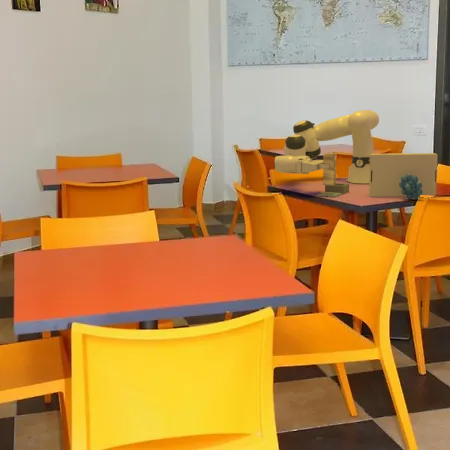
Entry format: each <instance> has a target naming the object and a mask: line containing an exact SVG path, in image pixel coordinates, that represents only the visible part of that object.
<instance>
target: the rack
mask: <svg viewBox="0 0 450 450" xmlns="http://www.w3.org/2000/svg"><path fill="white" fill-rule="evenodd" d="M324 192H332V193H342V195H345V194H347V192H348V193H350V183H337V182H336V184H335V185H324ZM344 193H345V194H344Z"/></svg>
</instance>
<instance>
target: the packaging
mask: <svg viewBox="0 0 450 450" xmlns="http://www.w3.org/2000/svg"><path fill="white" fill-rule="evenodd" d="M438 156H439V155H438V154H437V153H434V152H427V153H426V152H425V153H424V152H423V153H422V152H420V153H419V152H418V153H417V152H415V153H414V152H412V153H411V152H408V153H405V152H404V153H398V152H397V153H373V154H370V169H369V183H368V196H369V197H370V198H407V195H403V194H402V192H401V190H402V188H400V186H399V183H400V182H402V181H401V177H402V176H405V177H406V174H408V173H409V174H411V175H412V176H417V177H418V181H419V182H421V183H422V187H421V188H420V189H422V191H423V193H422V195H434V196H436V197H437V182H438V181H437V178H438ZM418 181H417V182H418ZM419 196H420V195H419Z"/></svg>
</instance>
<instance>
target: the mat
mask: <svg viewBox="0 0 450 450" xmlns="http://www.w3.org/2000/svg"><path fill="white" fill-rule="evenodd" d="M341 194H342V193H332V192H325V191H324V192H321V193H318V194H317V197H321V196H328V197H327V198H337V197H340V196H342V195H343V194H342V195H341ZM339 195H340V196H339Z"/></svg>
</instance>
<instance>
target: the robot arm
mask: <svg viewBox="0 0 450 450" xmlns="http://www.w3.org/2000/svg"><path fill="white" fill-rule="evenodd" d="M379 121H380V117H379V115H378V113H377V112H375V111H373V110H370V109H364V110H363V109H362V110H356V111H354V112H353V113H350V114H347V115H342V116H339V117H334V118H331V119H328V120H325V121H322V122H320V123H318V124H317V125H316V124H315V122H311V121H310V120H300V121H297V122H296V123H295V124H294V125H293V127H292V128H293V133H294V134H292V135H289V136H287V137H286V139H285V140H284V142H285V144H284V147H283V153H284V155H277V156H275V158H274V159H273V168H274V170H275V172H279V173H281V174H282V173H283V174H297V175H309V174H310V173H313V172H316V171H317V172H318V171H320V170H323V169H325V168H326V169H328V168H330V165H327V164H326V165H324V164H323V159H315V158H317V157H318V156H320V155H321V153H322V151H321V146H320V143H319V142H327V141H332V140H336V139H337V140H338V139H340V138H343V137H347V136H351V138H352V156H351V163H352V164H350V166H349V167H348V178H347V179H345V182H347V181H348V183H352V184H369V169H370V154H374V148H375V147H374V142H375V141H374V139H373V137H372V132H371V131H372V130H373V129H375V128H376V127H377V126H378V125H379V123H380V122H379ZM313 159H314V160H313Z"/></svg>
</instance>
